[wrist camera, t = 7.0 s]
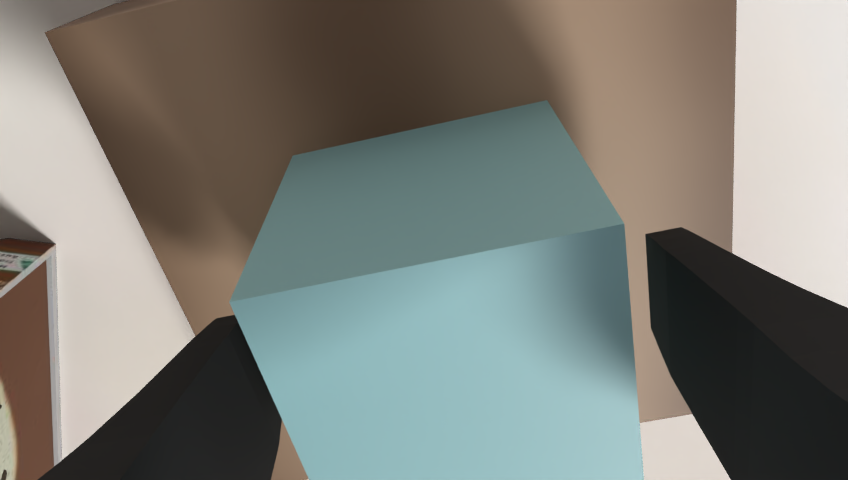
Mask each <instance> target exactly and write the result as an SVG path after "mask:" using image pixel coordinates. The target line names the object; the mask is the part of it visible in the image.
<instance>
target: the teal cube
mask: <svg viewBox="0 0 848 480" xmlns="http://www.w3.org/2000/svg"><path fill="white" fill-rule="evenodd" d="M229 303H230V305H231V307H232V310H233V312H234V314H235V316H236V318H237V321H238V323H239V325H240V327H241V330H242V332H243V334H244V336H245V338H246V341H247V343H248V345H249V347H250V350H251V352H252V354H253V356H254V358H255V361H256V363H257V365H258V367H259V370H260V372H261V374H262V376H263V378H264V381H265V383H266V385H267V387H268V390H269V392H270V394H271V396H272V398H273V401H274V403H275V405H276V407H277V409H278V412H279V414H280V416H281V418H282V421H283V423H284V425H285V427H286V429H287V432H288V434H289V436H290V438H291V441H292V443H293V445H294V447H295V449H296V452H297V454H298V456H299V458H300V461H301V463H302V465H303V467H304V469H305V472H306V474H307V476H308V478H309V480H644V475H643V461H642V448H641V435H640V422H639V409H638V396H637V383H636V370H635V357H634V343H633V330H632V317H631V304H630V291H629V278H628V265H627V252H626V239H625V225H624V222H623V221H622V219H621V218H620V216H619V214H618V213H617V211H616V210H615V208H614V206H613V205H612V203H611V202H610V200H609V198H608V197H607V195H606V194H605V192H604V190H603V189H602V187H601V186H600V184H599V182H598V181H597V179H596V178H595V176H594V174H593V173H592V171H591V170H590V168H589V166H588V165H587V163H586V162H585V160H584V158H583V157H582V155H581V154H580V152H579V150H578V149H577V147H576V146H575V144H574V142H573V141H572V139H571V138H570V136H569V134H568V133H567V131H566V130H565V128H564V126H563V125H562V123H561V122H560V120H559V118H558V117H557V115H556V114H555V112H554V110H553V109H552V107H551V106H550V104H549V102H548V101H547V100H545V101H541V102H536V103H532V104H527V105H522V106H518V107H513V108H509V109H504V110H499V111H495V112H490V113H486V114H481V115H477V116H472V117H467V118H463V119H458V120H454V121H449V122H444V123H440V124H435V125H431V126H426V127H422V128H417V129H412V130H408V131H403V132H399V133H394V134H389V135H385V136H380V137H376V138H371V139H367V140H362V141H357V142H353V143H348V144H344V145H339V146H334V147H330V148H325V149H321V150H316V151H312V152H307V153H302V154H298V155H293V156H292V158H291V161H290V163H289V165H288V168H287V170H286V172H285V175H284V177H283V179H282V181H281V184H280V186H279V188H278V191H277V193H276V195H275V198H274V200H273V202H272V204H271V207H270V209H269V211H268V214H267V216H266V218H265V221H264V223H263V225H262V228H261V230H260V232H259V234H258V237H257V239H256V241H255V244H254V246H253V248H252V251H251V253H250V255H249V257H248V260H247V262H246V264H245V267H244V269H243V271H242V274H241V276H240V278H239V281H238V283H237V285H236V287H235V290H234V292H233V294H232V297H231V299H230V301H229Z"/></svg>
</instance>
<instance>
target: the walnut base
mask: <svg viewBox="0 0 848 480" xmlns="http://www.w3.org/2000/svg"><path fill="white" fill-rule="evenodd" d="M45 34H46V36H47V38H48V40H49V42H50V44H51V46H52V48H53V50H54V52H55V54H56V56H57V58H58V60H59V62H60V64H61V66H62V68H63V70H64V72H65V74H66V76H67V78H68V80H69V82H70V84H71V86H72V88H73V90H74V92H75V94H76V96H77V98H78V100H79V102H80V104H81V106H82V108H83V110H84V112H85V114H86V116H87V118H88V120H89V122H90V124H91V127H92V129H93V131H94V133H95V135H96V137H97V139H98V141H99V143H100V145H101V147H102V149H103V151H104V153H105V155H106V157H107V159H108V161H109V163H110V165H111V167H112V169H113V171H114V173H115V175H116V177H117V179H118V181H119V183H120V185H121V187H122V189H123V191H124V193H125V195H126V197H127V199H128V201H129V203H130V205H131V207H132V209H133V211H134V213H135V215H136V217H137V219H138V221H139V223H140V225H141V227H142V229H143V231H144V233H145V235H146V237H147V239H148V241H149V243H150V245H151V247H152V249H153V251H154V253H155V255H156V257H157V259H158V261H159V263H160V265H161V267H162V269H163V271H164V273H165V275H166V277H167V279H168V281H169V283H170V285H171V287H172V289H173V291H174V293H175V295H176V297H177V299H178V301H179V303H180V305H181V307H182V309H183V311H184V313H185V316H186V318H187V320H188V322H189V324H190V326H191V328H192V330H193V332H194V334H195V336H197V335H198V334H199V333H200V332H201V331H202V330H203V329H204V328H205V327H206V326H207V325H209V324H210V323H211V322H212V321H214V320H215V319H216V318H220V317H225V316H231V315H235V314H234V312H233V310H232V307H231V305H230V303H229V301H230V299H231V297H232V294H233V292H234V290H235V287H236V285H237V283H238V281H239V278H240V276H241V274H242V271H243V269H244V267H245V264H246V262H247V260H248V257H249V255H250V253H251V251H252V248H253V246H254V244H255V241H256V239H257V237H258V234H259V232H260V230H261V228H262V225H263V223H264V221H265V218H266V216H267V214H268V211H269V209H270V207H271V204H272V202H273V200H274V198H275V195H276V193H277V191H278V188H279V186H280V184H281V181H282V179H283V177H284V175H285V172H286V170H287V168H288V165H289V163H290V161H291V158H292V156H293V155H298V154H302V153H307V152H312V151H316V150H321V149H325V148H330V147H334V146H339V145H344V144H348V143H353V142H357V141H362V140H367V139H371V138H376V137H380V136H385V135H389V134H394V133H399V132H403V131H408V130H412V129H417V128H422V127H426V126H431V125H435V124H440V123H444V122H449V121H454V120H458V119H463V118H467V117H472V116H477V115H481V114H486V113H490V112H495V111H499V110H504V109H509V108H513V107H518V106H522V105H527V104H532V103H536V102H541V101H545V100H547V101H548V102H549V104H550V106H551V107H552V109H553V110H554V112H555V114H556V115H557V117H558V118H559V120H560V122H561V123H562V125H563V126H564V128H565V130H566V131H567V133H568V134H569V136H570V138H571V139H572V141H573V142H574V144H575V146H576V147H577V149H578V150H579V152H580V154H581V155H582V157H583V158H584V160H585V162H586V163H587V165H588V166H589V168H590V170H591V171H592V173H593V174H594V176H595V178H596V179H597V181H598V182H599V184H600V186H601V187H602V189H603V190H604V192H605V194H606V195H607V197H608V198H609V200H610V202H611V203H612V205H613V206H614V208H615V210H616V211H617V213H618V214H619V216H620V218H621V219H622V221H623V222H624V225H625V239H626V252H627V265H628V278H629V291H630V304H631V317H632V330H633V343H634V357H635V370H636V383H637V396H638V409H639V422H640V423H642V422H647V421H653V420H659V419H665V418H671V417H677V416H683V415H689V414H692V412H691V411H690V409H689V407H688V405H687V404H686V402H685V400H684V398H683V397H682V395H681V393H680V391H679V390H678V388H677V386H676V384H675V383H674V381H673V379H672V377H671V375H670V373H669V371H668V368H667V366H666V364H665V361H664V359H663V357H662V354H661V352H660V350H659V347H658V345H657V342H656V340H655V337H654V335H653V332H652V330H651V324H650V307H649V290H648V272H647V255H646V238H645V234H648V233H653V232H658V231H663V230H668V229H673V228H679V227H682V228H684V229H687V230H689V231H691V232H693V233H695V234H697V235H699V236H701V237H702V238H704V239H706V240H708V241H710V242H712V243H714V244H715V245H717V246H719V247H721V248H723V249H725V250H727V251H729V252H730V253H732V224H733V168H734V111H735V55H736V0H129V1H125V2H121V3H117V4H113V5H111V6H108V7H106V8H104V9H101V10H99V11H96V12H94V13H91V14H89V15H86V16H84V17H81V18H79V19H77V20H74V21H72V22H69V23H67V24H64V25H62V26H59V27H57V28H55V29H52V30H50V31H47V32H45ZM306 479H309V478H308V476H307V474H306V472H305V469H304V467H303V465H302V463H301V461H300V458H299V456H298V454H297V452H296V449H295V447H294V445H293V443H292V441H291V438H290V436H289V434H288V432H287V429H286V427H285V425H284V423H283V421H282V423H281V432H280V441H279V447H278V452H277V456H276V460H275V465H274V469H273V473H272V477H271V480H306Z"/></svg>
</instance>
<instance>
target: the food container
mask: <svg viewBox="0 0 848 480" xmlns="http://www.w3.org/2000/svg"><path fill="white" fill-rule="evenodd" d="M61 461H62V447H61V412H60V377H59V342H58V308H57V273H56V244H52V243H44V242H36V241H28V240H20V239H12V238H7V239H0V480H38V479H39V478H40V477H41V476H43V475H44V474H45V473H46V472H48V471H49V470H50V469H52V468H53V467H54V466H55V465H57V464H58V463H59V462H61Z"/></svg>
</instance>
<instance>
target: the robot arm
mask: <svg viewBox="0 0 848 480" xmlns="http://www.w3.org/2000/svg"><path fill="white" fill-rule="evenodd" d="M645 238H646V255H647V272H648V290H649V307H650V324H651V330H652V332H653V335H654V337H655V340H656V342H657V345H658V347H659V350H660V352H661V354H662V357H663V359H664V361H665V364H666V366H667V368H668V371H669V373H670V375H671V377H672V379H673V381H674V383H675V384H676V386H677V388H678V390H679V391H680V393H681V395H682V397H683V398H684V400H685V402H686V404H687V405H688V407H689V409H690V411H691V412H692V414H693V416H694V417H695V419H696V421H697V423H698V424H699V426H700V428H701V429H702V431H703V433H704V434H705V436H706V438H707V440H708V441H709V443H710V445H711V446H712V448H713V450H714V451H715V453H716V455H717V457H718V458H719V460H720V462H721V463H722V465H723V467H724V469H725V470H726V472H727V474H728V475H729V477H730V479H731V480H848V308H847V307H844V306H842V305H839V304H837V303H835V302H832V301H830V300H828V299H826V298H823V297H821V296H819V295H816V294H814V293H812V292H809V291H807V290H805V289H803V288H800V287H798V286H796V285H794V284H792V283H790V282H788V281H786V280H783V279H781V278H779V277H777V276H775V275H773V274H771V273H769V272H767V271H765V270H763V269H761V268H759V267H757V266H755V265H753V264H751V263H749V262H748V261H746V260H744V259H742V258H740V257H738V256H736V255H734V254H732V253H730V252H729V251H727V250H725V249H723V248H721V247H719V246H717V245H715V244H714V243H712V242H710V241H708V240H706V239H704V238H702V237H701V236H699V235H697V234H695V233H693V232H691V231H689V230H687V229H684V228H682V227H679V228H673V229H668V230H663V231H658V232H653V233H648V234H645ZM281 423H282V418H281V416H280V414H279V412H278V409H277V407H276V405H275V403H274V401H273V398H272V396H271V394H270V392H269V390H268V387H267V385H266V383H265V381H264V378H263V376H262V374H261V372H260V370H259V367H258V365H257V363H256V361H255V358H254V356H253V354H252V352H251V350H250V347H249V345H248V343H247V341H246V338H245V336H244V334H243V332H242V330H241V327H240V325H239V323H238V321H237V318H236V316H235V315H231V316H225V317H220V318H216V319H215V320H214V321H212V322H211V323H210V324H209V325H207V326H206V327H205V328H204V329H203V330H202V331H201V332H200V333H199V334H198V335H197V336H196V337H194V338H193V339H192V340H191V341H190V342H189V343H188V344H187V345H186V346H185V347H184V348H183V349H182V350H181V351H180V352H179V353H178V354H177V355H176V356H175V357H174V358H173V359H172V360H171V361H170V362H169V363H168V364H167V365H166V366H165V367H164V368H163V369H162V370H161V371H160V372H159V373H158V374H157V375H156V376H155V377H154V378H153V379H152V380H151V381H150V382H149V383H148V384H147V385H146V386H145V387H144V388H143V389H142V390H141V391H140V392H139V393H137V394H136V395H135V396H134V397H133V398H132V399H131V400H130V401H129V402H128V403H127V404H126V405H124V406H123V407H122V408H121V409H120V410H119V411H118V412H117V413H116V414H115V415H114V416H112V417H111V418H110V419H109V420H108V421H107V422H106V423H105V424H104V425H103V426H102V427H100V428H99V429H98V430H97V431H96V432H95V433H94V434H93V435H92V436H91V437H89V438H88V439H87V440H86V441H85V442H84V443H82V444H81V445H80V446H79V447H78V448H76V449H75V450H74V451H73V452H72V453H70V454H69V455H68V456H67V457H66V458H64V459H63V460H62V461H61V462H59V463H58V464H57V465H55V466H54V467H53V468H52V469H50V470H49V471H48V472H46V473H45V474H44V475H43V476H41V477H40V478H39V479H38V480H271V477H272V473H273V469H274V465H275V460H276V456H277V452H278V447H279V441H280V432H281Z"/></svg>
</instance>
